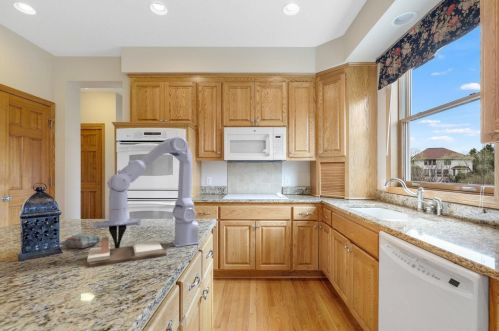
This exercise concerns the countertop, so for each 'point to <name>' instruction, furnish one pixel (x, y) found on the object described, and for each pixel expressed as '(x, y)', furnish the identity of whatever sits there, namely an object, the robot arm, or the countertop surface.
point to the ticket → (147, 248)
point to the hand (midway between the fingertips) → (117, 247)
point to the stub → (100, 251)
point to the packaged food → (81, 241)
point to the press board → (124, 256)
